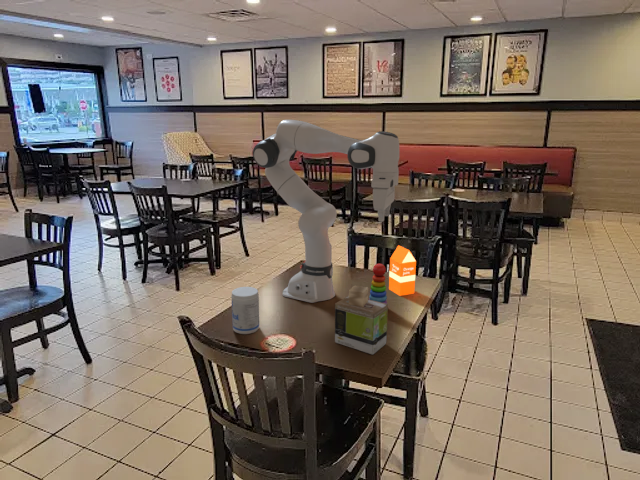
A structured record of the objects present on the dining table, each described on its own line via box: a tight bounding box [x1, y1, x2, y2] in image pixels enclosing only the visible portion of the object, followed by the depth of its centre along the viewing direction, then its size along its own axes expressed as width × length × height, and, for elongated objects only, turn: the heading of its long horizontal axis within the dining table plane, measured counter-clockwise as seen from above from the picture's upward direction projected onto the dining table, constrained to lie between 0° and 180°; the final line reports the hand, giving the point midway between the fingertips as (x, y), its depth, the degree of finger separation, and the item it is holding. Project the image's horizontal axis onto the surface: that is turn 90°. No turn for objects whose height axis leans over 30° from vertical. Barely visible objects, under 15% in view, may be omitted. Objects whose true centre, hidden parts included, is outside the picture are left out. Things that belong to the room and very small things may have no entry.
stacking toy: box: [368, 263, 388, 304], centre depth 179 cm, size 8×8×19 cm
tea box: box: [334, 295, 389, 356], centre depth 153 cm, size 15×10×15 cm, turn 54°
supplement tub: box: [230, 286, 260, 335], centre depth 163 cm, size 10×10×15 cm
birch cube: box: [348, 285, 369, 307], centre depth 150 cm, size 5×5×5 cm
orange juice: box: [388, 244, 417, 297], centre depth 197 cm, size 8×9×20 cm
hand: (384, 218), depth 162 cm, fingers open, 8 cm apart
